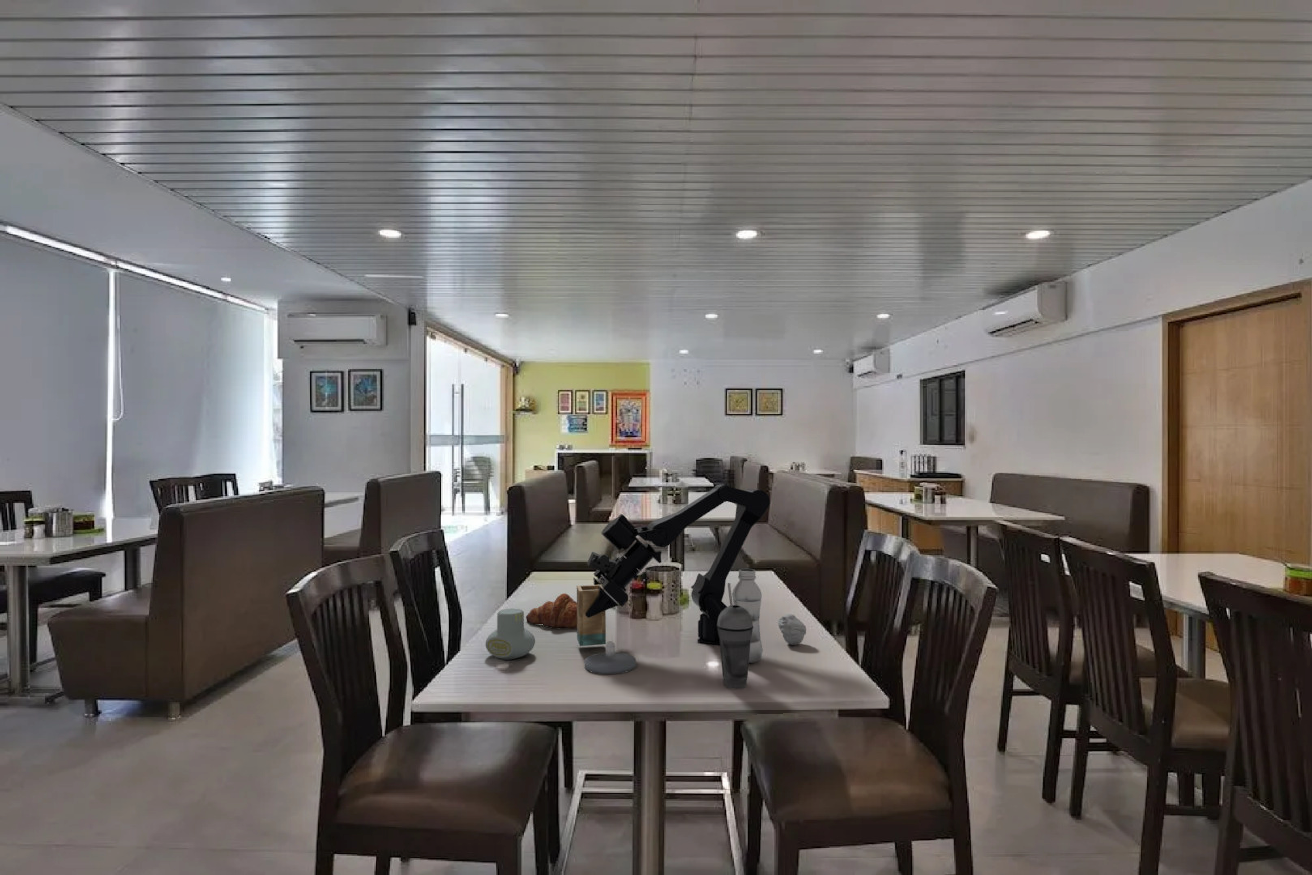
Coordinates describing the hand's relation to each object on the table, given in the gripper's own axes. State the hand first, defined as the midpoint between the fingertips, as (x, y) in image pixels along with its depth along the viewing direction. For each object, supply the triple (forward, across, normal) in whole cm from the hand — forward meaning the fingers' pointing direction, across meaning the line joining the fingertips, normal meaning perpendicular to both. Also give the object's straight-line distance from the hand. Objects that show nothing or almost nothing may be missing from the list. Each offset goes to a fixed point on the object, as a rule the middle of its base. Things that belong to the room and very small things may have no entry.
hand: (585, 612), depth 156 cm
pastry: (+8, -24, +4) cm, 26 cm away
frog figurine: (-28, +7, +41) cm, 50 cm away
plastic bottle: (-18, +17, +30) cm, 39 cm away
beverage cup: (-12, +30, +25) cm, 41 cm away
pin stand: (+3, +13, +9) cm, 16 cm away
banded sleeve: (+4, 0, +6) cm, 7 cm away
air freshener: (+18, +1, -6) cm, 19 cm away
